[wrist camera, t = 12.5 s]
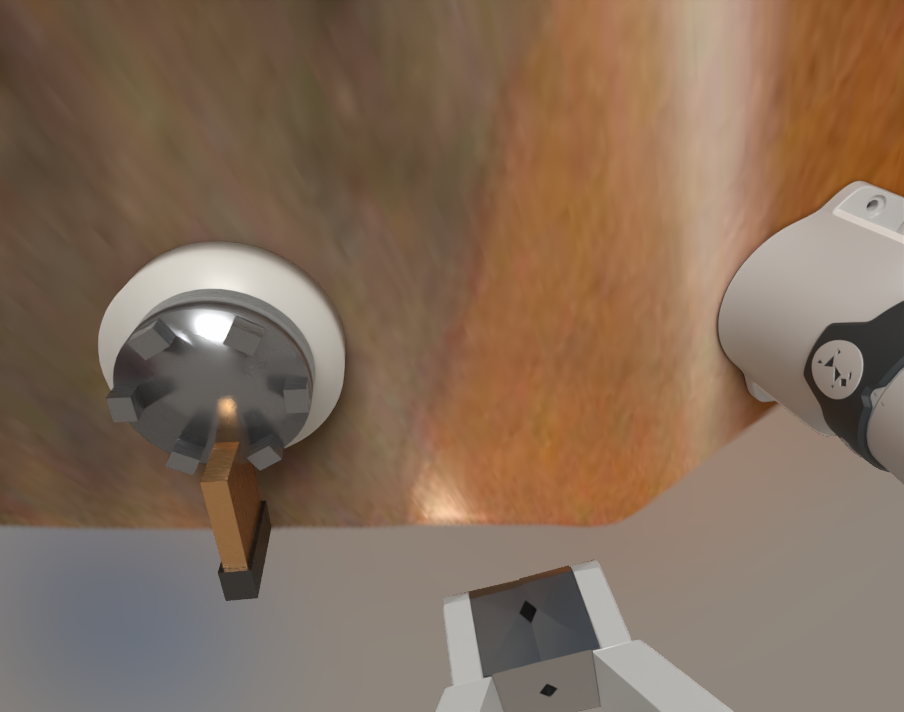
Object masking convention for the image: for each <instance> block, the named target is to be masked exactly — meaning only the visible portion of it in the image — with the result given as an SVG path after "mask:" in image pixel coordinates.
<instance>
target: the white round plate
mask: <svg viewBox="0 0 904 712" xmlns="http://www.w3.org/2000/svg"><path fill="white" fill-rule="evenodd" d="M199 289H225V290H232V291H237V292H241V293H245V294H248V295H251V296H254V297H256V298H259V299H261V300H263V301H265V302H267V303H269V304H271V305H272V306H274V307H275V308H277V309H278V310H280V311H281V312H283V313H284V314H285V315H286V316H287V317H288V318H290V319H291V320H292V321H293V322H294V324H295V325H296V326H297V327H298V328H299V329H300V331H301V332H302V334H303V335H304V336H305V338H306V340H307V342H308V344H309V346H310V348H311V351H312V354H313V358H314V363H315V381H314V388H313V395H312V402H311V408H310V412H309V415H308V418H307V420H306V422H305V425H304V427H303V428H302V429H301V431H300V432H299V434H298V435H297V436H296V437H295V438H294V439H293V440H292V441H291V442H290V443H289V444H288V445H287V446H285V447H284V448H287V447H289V446H291V445H293V444H295V443H297V442H299V441H301V440H302V439H304V438H305V437H307V436H309V435H310V434H311V433H312V432H314V431H315V430H316V429H317V428H318V427H320V425H321V424H322V423H323V422H324V421H325V420H326V419H327V418H328V416H329V415H330V413H331V412H332V410H333V409H334V407H335V405H336V403H337V401H338V399H339V396H340V393H341V389H342V386H343V379H344V370H345V356H346V341H345V334H344V329H343V325H342V322H341V319H340V317H339V314H338V312H337V310H336V308H335V306H334V304H333V302H332V301H331V300H330V298H329V297H328V295H327V294H326V292H325V291H324V290H323V289H322V288H321V286H320V285H319V284H318V283H317V282H316V281H315V280H314V279H313V278H312V277H311V276H309V275H308V274H307V273H306V272H305V271H304V270H302V269H301V268H299V267H298V266H296V265H295V264H293V263H292V262H290V261H289V260H287V259H285V258H283V257H281V256H279V255H277V254H275V253H272V252H270V251H267V250H265V249H262V248H259V247H255V246H251V245H247V244H242V243H235V242H228V241H208V242H198V243H192V244H188V245H184V246H180V247H177V248H174V249H172V250H169V251H167V252H164V253H163V254H161V255H159V256H157V257H156V258H154V259H152V260H151V261H150V262H148V263H147V264H146V265H144V266H143V267H142V268H141V269H140V270H139V271H138V272H137V273H136V274H135V275H134V276H133V277H132V278H131V280H130V281H129V282H128V283H127V284H126V285H125V286H124V287H123V288H122V290H121V291H120V292H119V293H118V294H117V295H116V296H115V297H114V299H113V300H112V302H111V303H110V305H109V307H108V308H107V310H106V312H105V315H104V317H103V320H102V322H101V327H100V331H99V339H98V352H99V360H100V364H101V368H102V371H103V375H104V377H105V379H106V381H107V384H108V386H109V388H110V390H112V389H113V370H114V364H115V361H116V357H117V355H118V353H119V351H120V349H121V347H122V346H123V344H124V343H125V342H126V340H127V339H128V338H129V336H130V335H131V334H132V332H133V331H134V330H135V328H136V327H137V326H138V324H139V323H140V322H141V320H142V319H143V318H144V316H145V315H146V314H147V313H148V312H149V311H150V310H151V309H152V308H154V307H155V306H156V305H158V304H159V303H161V302H162V301H164V300H166V299H168V298H170V297H172V296H174V295H177V294H180V293H183V292H187V291H192V290H199Z"/></svg>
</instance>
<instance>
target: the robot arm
mask: <svg viewBox="0 0 904 712" xmlns="http://www.w3.org/2000/svg"><path fill="white" fill-rule="evenodd" d="M870 201H871V202H870ZM869 202H870V204H869V206H868V207H867V205H868V203H869ZM718 330H719V338H720V342H721V345H722V347H723V350H724V351H725V353H726V355H727V356H728V358H729V359H730V360H731V361H732V362H733V363H734V364H735V365H736V366H737V367H738V368H739V369H740V370H741V371H742V372H743V373H744V376H745V381H746V385H747V388H748V391H749V393H750V394H751V395H752V396H753V397H755V398H756V399H757V400H759V401H761V402H770V401H776V402H778V403H779V404H780V405H782V406H783V407H784V408H785V409H787V410H788V411H789V412H791V413H792V414H793V415H794V416H796V417H797V418H798V419H800V420H801V421H802V422H804V423H805V424H806V425H808V426H809V427H810V428H811V429H813V430H814V431H815V432H817V433H819V434H821V435H823V436H830V435H835V436H838V437H839V438H840V439H841V441H843V442H844V443H845V445H846V446H847V447H848V448H849V449H850V450H852V451H853V452H854V453H856V454H857V455H858V456H860V457H863V458H864V459H865V460H866V461H868V462H869V463H870V464H872V465H873V466H874V467H876V468H878V469H880V470H883V471H887V472H890V473H892V474H893V475H894V476H895V477H896V478H897V479H898V480H900V481H901V482H902V483H903V484H904V197H902V196H900V195H897V194H895V193H892V192H889V191H887V190H884V189H882V188H879V187H877V186H874V185H872V184H869V183H866V182H863V181H857V182H853V183H851V184H849V185H848V186H846V187H845V188H843V189H842V190H841V191H840V192H838V193H837V194H836V195H835V196H834V197H833V198H832V199H831V200H829V201H828V202H827V203H826V204H825V205H824V206H823V207H822V208H821V209H820V210H818V211H817V212H815V213H813V214H812V215H810V216H808V217H806V218H804V219H802V220H800V221H797V222H795V223H793V224H791V225H789V226H788V227H786V228H784V229H783V230H781V231H779V232H778V233H776V234H775V235H773V236H772V237H771V238H769V239H768V240H767V241H766V242H764V243H763V244H762V245H761V246H760V247H759V248H758V249H757V250H756V251H754V252H753V253H752V255H751V256H750V257H749V258H748V259H747V260H746V261H745V262H744V264H743V265H742V266H741V268H740V269H739V270H738V272H737V273H736V275H735V276H734V278H733V280H732V281H731V283H730V285H729V287H728V289H727V291H726V293H725V296H724V299H723V301H722V305H721V309H720V313H719V322H718ZM443 615H444V623H445V631H446V639H447V647H448V655H449V663H450V671H451V680H452V686H449V687H446V688H444V690H443V693H442V695H441V697H440V700H439V702H438V704H437V707H436V709H435V712H578V711H583V710H587V709H592V708H597V707H601V709H602V710H603V711H604V712H733V711H732V710H731V709H729V708H728V707H727V706H725V705H724V704H723V703H722V702H720V701H719V700H718V699H717V698H715V697H714V696H713V695H711V694H710V693H709V692H708V691H706V690H705V689H704V688H702V687H701V686H700V685H699V684H697V683H696V682H695V681H693V680H692V679H691V678H690V677H688V676H687V675H686V674H684V673H683V672H682V671H680V670H679V669H678V668H677V667H675V666H674V665H673V664H672V663H670V662H669V661H668V660H666V659H665V658H664V657H663V656H661V655H660V654H659V653H657V652H656V651H655V650H654V649H652V648H651V647H650V646H648V645H647V644H646V643H645V642H643V641H642V640H641V639H637V640H632V639H631V637H630V635H629V632H628V630H627V628H626V625H625V623H624V621H623V618H622V616H621V614H620V611H619V609H618V606H617V604H616V602H615V599H614V597H613V595H612V592H611V590H610V588H609V585H608V583H607V580H606V578H605V576H604V574H603V571H602V569H601V566H600V565H599V563H598V562H597V561H596V560H591V561H587V562H583V563H580V564H577V565H573V566H570V567H569V566H565V567H561V568H558V569H554V570H550V571H547V572H543V573H539V574H535V575H532V576H528V577H524V578H520V579H519V580H516V581H512V582H507V583H503V584H499V585H495V586H490V587H486V588H482V589H478V590H473V591H468V592H464V593H461V594H456V595H452V596H448V597H444V598H443Z"/></svg>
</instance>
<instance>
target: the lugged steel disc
mask: <svg viewBox="0 0 904 712" xmlns="http://www.w3.org/2000/svg"><path fill="white" fill-rule="evenodd" d="M314 381H315V363H314V358H313V354H312V351H311V348H310V346H309V344H308V342H307V340H306V338H305V336H304V335H303V334H302V332H301V331H300V329H299V328H298V327H297V326H296V325H295V324H294V322H293V321H292V320H291V319H290V318H288V317H287V316H286V315H285V314H284V313H283V312H281V311H280V310H278V309H277V308H275V307H274V306H272V305H271V304H269V303H267V302H265V301H263V300H261V299H259V298H256V297H254V296H251V295H248V294H245V293H241V292H237V291H232V290H225V289H199V290H192V291H187V292H183V293H180V294H177V295H174V296H172V297H170V298H168V299H166V300H164V301H162V302H161V303H159V304H158V305H156V306H155V307H154V308H152V309H151V310H150V311H149V312H148V313H147V314H146V315H145V316H144V318H143V319H142V320H141V322H140V323H139V324H138V326H137V327H136V328H135V330H134V331H133V332H132V334H131V335H130V336H129V338H128V339H127V340H126V342H125V343H124V344H123V346H122V347H121V349H120V351H119V353H118V355H117V357H116V361H115V364H114V370H113V389H112V390H111V392H110V393H109V394H108V396H107V397H106V401H107V404H108V407H109V410H110V413H111V415H112V418H113V421H114V422H130V423H131V425H132V426H133V427H134V428H135V429H136V430H137V431H138V432H139V433H140V434H141V435H142V436H143V437H145V438H146V439H147V440H148V441H150V442H151V443H153V444H154V445H156V446H157V447H159V448H161V449H162V450H164V451H166V452H168V453H170V454H171V455H170V457H169V459H168V461H167V463H166V466H165V467H169V468H172V469H175V470H178V471H181V472H184V473H188V474H191V475H193V474H194V472H195V470H196V468H197V466H198V464H199V463H204V464H207V465H206V468H205V470H204V473H203V476H202V479H201V481H200V484H201V488H202V492H203V495H204V499H205V503H206V506H207V510H208V514H209V517H210V521H211V525H212V528H213V532H214V536H215V540H216V543H217V547H218V550H219V554H220V558H221V564H220V567H219V571H218V575H219V578H220V582H221V585H222V589H223V593H224V596H225V599H226V601H230V600H241V599H252V598H258V593H259V589H260V583H261V577H262V573H263V567H264V563H265V557H266V552H267V547H268V542H269V536H270V532H271V523H270V518H269V513H268V508H267V503H266V501H261V499H260V494H259V489H258V484H257V479H256V474H255V469H254V466H255V467H256V468H258V469H259V470H260V471H261V470H263V469H265V468H266V467H268V466H270V465H272V464H274V463H276V462H278V461H280V460H282V457H283V452H284V447H285V446H287V445H288V444H289V443H290V442H291V441H292V440H293V439H294V438H295V437H296V436H297V435H298V434H299V432H300V431H301V429H302V428H303V427H304V425H305V422H306V420H307V418H308V415H309V412H310V408H311V402H312V395H313V388H314Z"/></svg>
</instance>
